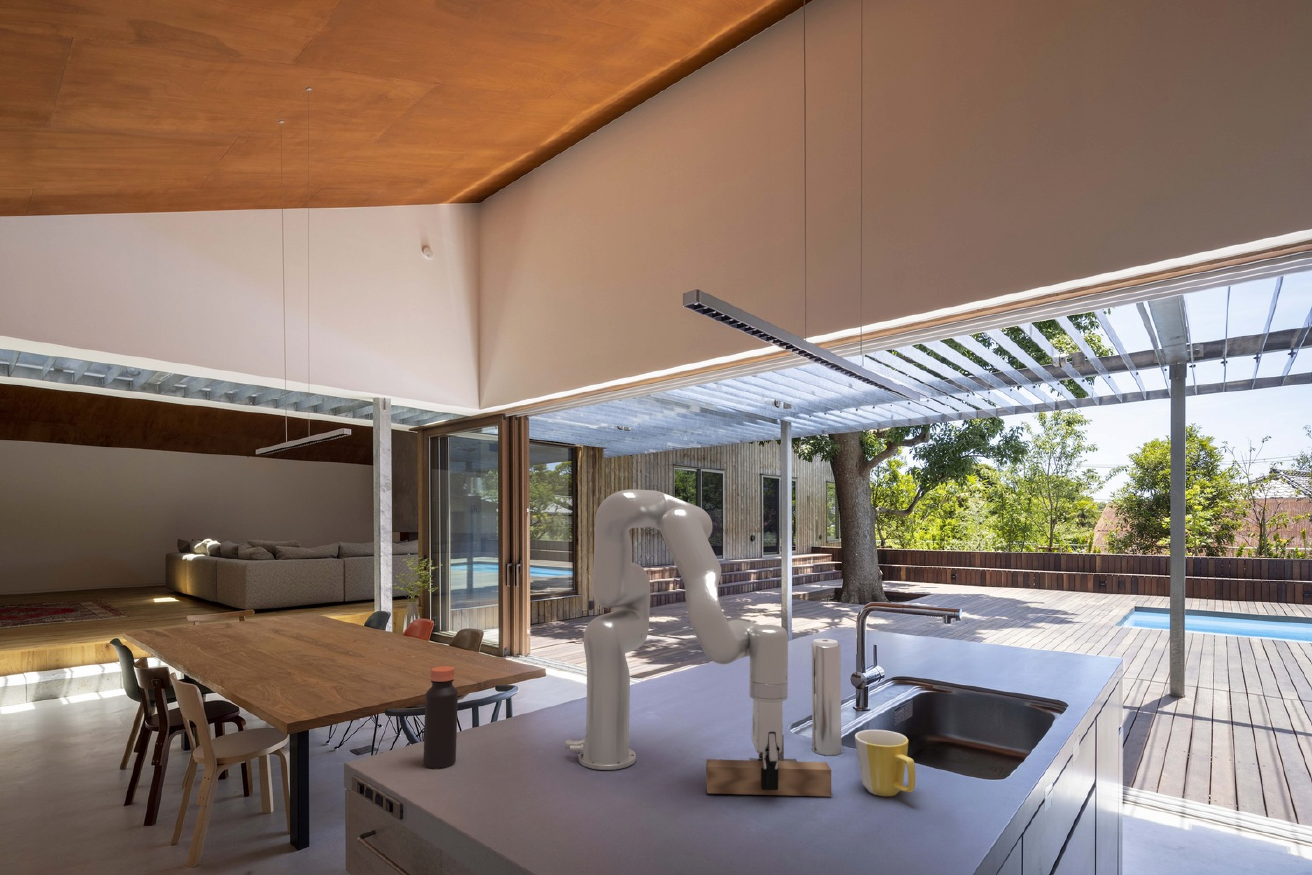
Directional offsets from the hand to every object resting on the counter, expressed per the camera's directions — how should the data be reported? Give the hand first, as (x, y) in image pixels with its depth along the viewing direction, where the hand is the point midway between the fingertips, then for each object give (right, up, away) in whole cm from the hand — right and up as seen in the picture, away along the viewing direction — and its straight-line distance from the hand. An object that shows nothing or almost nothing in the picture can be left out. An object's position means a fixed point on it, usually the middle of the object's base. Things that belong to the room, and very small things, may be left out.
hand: (767, 783), depth 145 cm
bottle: (-69, -2, +14) cm, 70 cm away
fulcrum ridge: (+3, -3, +11) cm, 12 cm away
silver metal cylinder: (+17, -4, +25) cm, 30 cm away
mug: (+23, -2, 0) cm, 23 cm away
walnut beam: (0, -1, 0) cm, 1 cm away
